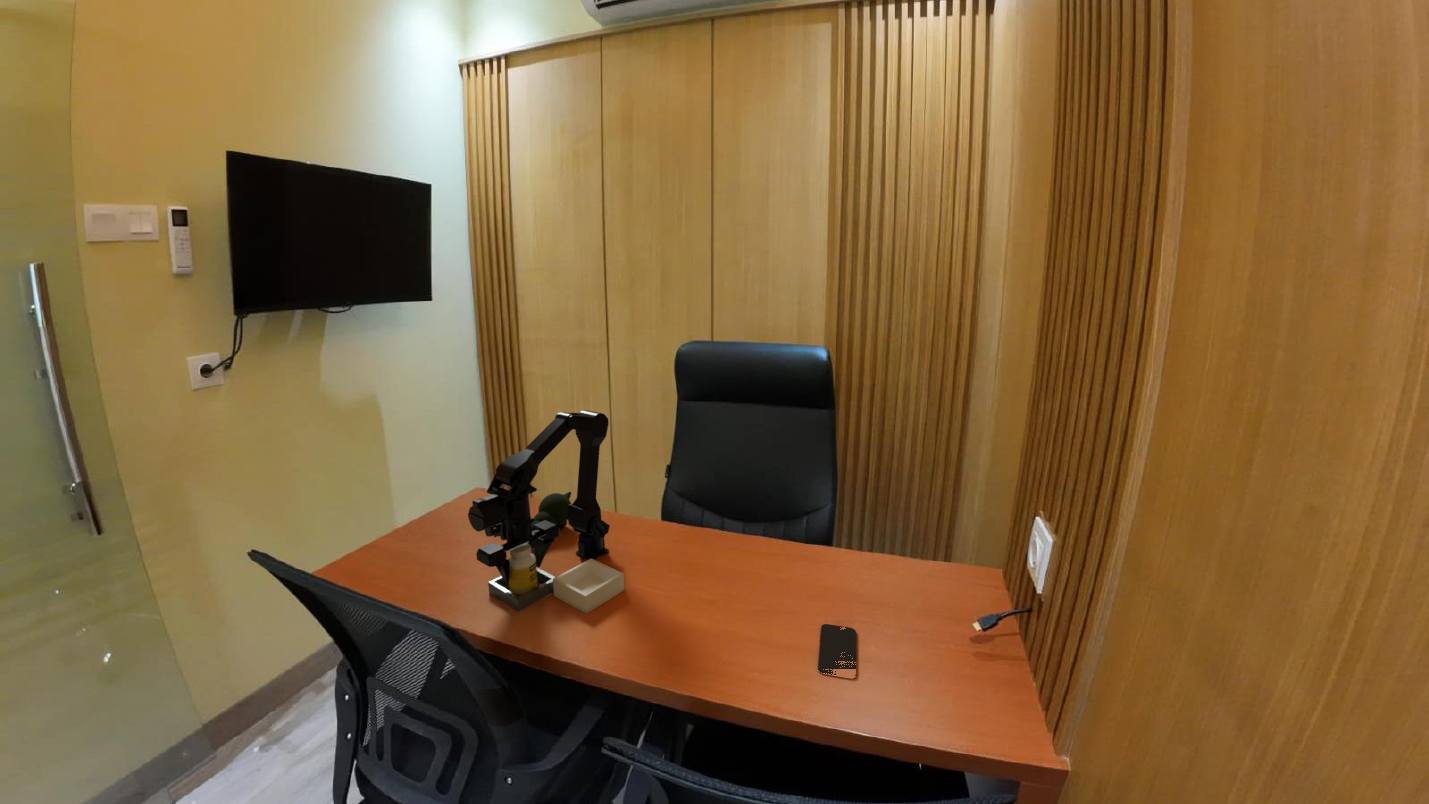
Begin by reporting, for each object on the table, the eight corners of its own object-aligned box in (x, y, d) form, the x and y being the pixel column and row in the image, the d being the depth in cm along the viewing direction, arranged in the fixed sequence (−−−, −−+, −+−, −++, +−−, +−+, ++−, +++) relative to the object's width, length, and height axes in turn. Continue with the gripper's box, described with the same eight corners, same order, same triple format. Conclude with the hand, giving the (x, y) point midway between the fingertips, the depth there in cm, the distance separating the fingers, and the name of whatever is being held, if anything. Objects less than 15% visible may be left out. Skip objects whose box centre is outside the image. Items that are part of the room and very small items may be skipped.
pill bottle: (529, 601, 125) (525, 556, 122) (504, 597, 126) (499, 553, 123) (543, 585, 131) (539, 542, 128) (519, 582, 132) (515, 539, 130)
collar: (529, 573, 136) (528, 562, 136) (558, 589, 129) (558, 578, 129) (489, 593, 128) (487, 582, 127) (518, 611, 121) (517, 600, 120)
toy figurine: (532, 564, 144) (586, 518, 166) (522, 501, 138) (579, 462, 160) (504, 557, 147) (561, 513, 169) (493, 496, 141) (554, 458, 163)
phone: (817, 671, 103) (821, 622, 117) (816, 675, 103) (821, 626, 117) (857, 678, 101) (856, 628, 115) (856, 682, 101) (856, 631, 115)
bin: (592, 574, 136) (591, 558, 135) (624, 590, 129) (623, 573, 128) (554, 595, 127) (552, 578, 126) (586, 614, 120) (585, 596, 119)
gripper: (531, 492, 136) (535, 548, 140) (459, 519, 121) (467, 580, 125) (558, 504, 129) (563, 562, 133) (487, 533, 115) (494, 597, 119)
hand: (522, 574), depth 128 cm, fingers open, 8 cm apart
